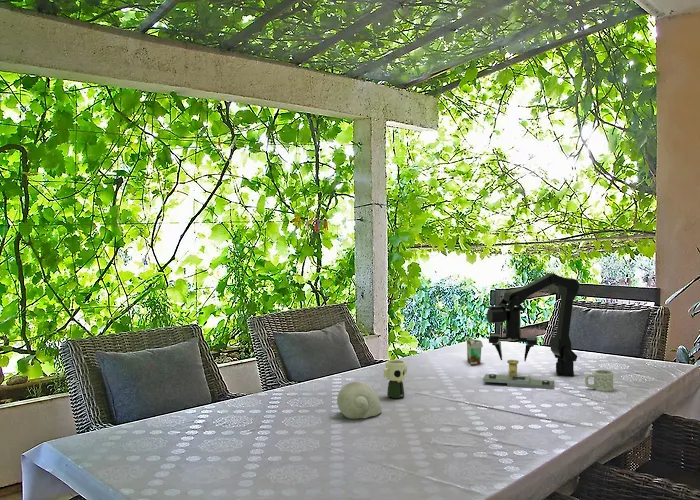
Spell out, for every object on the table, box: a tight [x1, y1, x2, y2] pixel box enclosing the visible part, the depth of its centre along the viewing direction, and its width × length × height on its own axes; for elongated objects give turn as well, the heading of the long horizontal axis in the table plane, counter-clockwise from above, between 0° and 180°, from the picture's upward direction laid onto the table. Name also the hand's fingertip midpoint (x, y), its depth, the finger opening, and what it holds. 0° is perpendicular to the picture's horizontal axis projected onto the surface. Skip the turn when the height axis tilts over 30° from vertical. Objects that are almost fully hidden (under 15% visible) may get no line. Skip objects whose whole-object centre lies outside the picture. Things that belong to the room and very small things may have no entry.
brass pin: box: [506, 359, 520, 376], centre depth 265 cm, size 4×4×7 cm
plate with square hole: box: [483, 373, 555, 390], centre depth 255 cm, size 26×8×3 cm, turn 72°
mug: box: [584, 369, 614, 393], centre depth 245 cm, size 10×7×7 cm, turn 84°
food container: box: [466, 338, 484, 367], centre depth 293 cm, size 12×6×10 cm, turn 179°
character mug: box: [383, 359, 408, 399], centre depth 238 cm, size 11×7×13 cm, turn 127°
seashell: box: [336, 381, 382, 420], centre depth 218 cm, size 15×14×15 cm
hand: (513, 360), depth 265 cm, fingers open, 9 cm apart
